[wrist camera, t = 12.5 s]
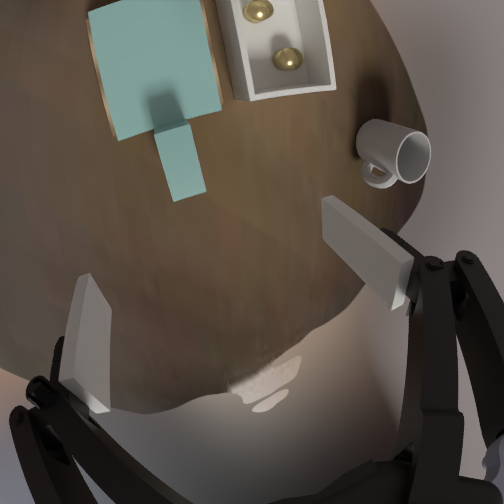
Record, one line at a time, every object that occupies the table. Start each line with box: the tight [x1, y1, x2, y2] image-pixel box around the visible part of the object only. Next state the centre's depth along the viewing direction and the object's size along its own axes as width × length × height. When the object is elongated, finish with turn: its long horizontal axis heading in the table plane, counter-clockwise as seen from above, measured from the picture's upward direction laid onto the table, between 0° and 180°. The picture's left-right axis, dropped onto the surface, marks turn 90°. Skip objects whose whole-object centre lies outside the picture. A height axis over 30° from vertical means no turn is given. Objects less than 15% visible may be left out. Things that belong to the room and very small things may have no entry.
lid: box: [88, 0, 222, 201], centre depth 23 cm, size 21×11×6 cm, turn 11°
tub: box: [215, 0, 336, 101], centre depth 25 cm, size 14×10×6 cm
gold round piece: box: [272, 47, 303, 71], centre depth 28 cm, size 3×3×2 cm
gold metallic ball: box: [242, 0, 274, 23], centre depth 24 cm, size 3×3×2 cm
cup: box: [356, 119, 431, 188], centre depth 36 cm, size 7×10×9 cm
